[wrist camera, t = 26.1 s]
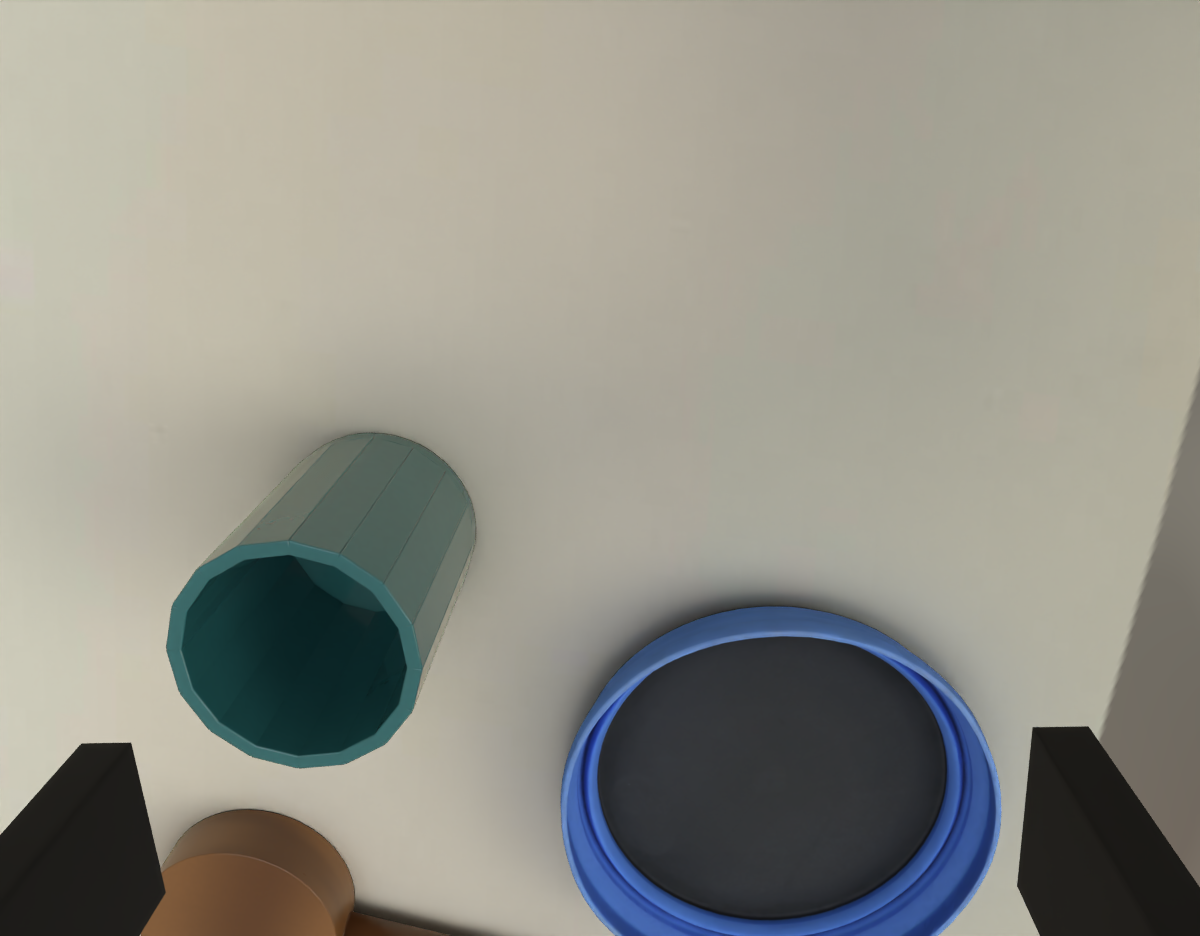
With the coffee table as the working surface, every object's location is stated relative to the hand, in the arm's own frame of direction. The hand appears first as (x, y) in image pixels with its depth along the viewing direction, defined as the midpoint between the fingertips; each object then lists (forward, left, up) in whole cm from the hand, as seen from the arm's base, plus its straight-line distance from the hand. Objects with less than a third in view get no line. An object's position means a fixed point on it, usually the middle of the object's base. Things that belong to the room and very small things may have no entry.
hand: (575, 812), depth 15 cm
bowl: (-11, +16, -27) cm, 33 cm away
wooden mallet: (+5, +29, -27) cm, 40 cm away
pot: (+8, +9, -27) cm, 29 cm away
